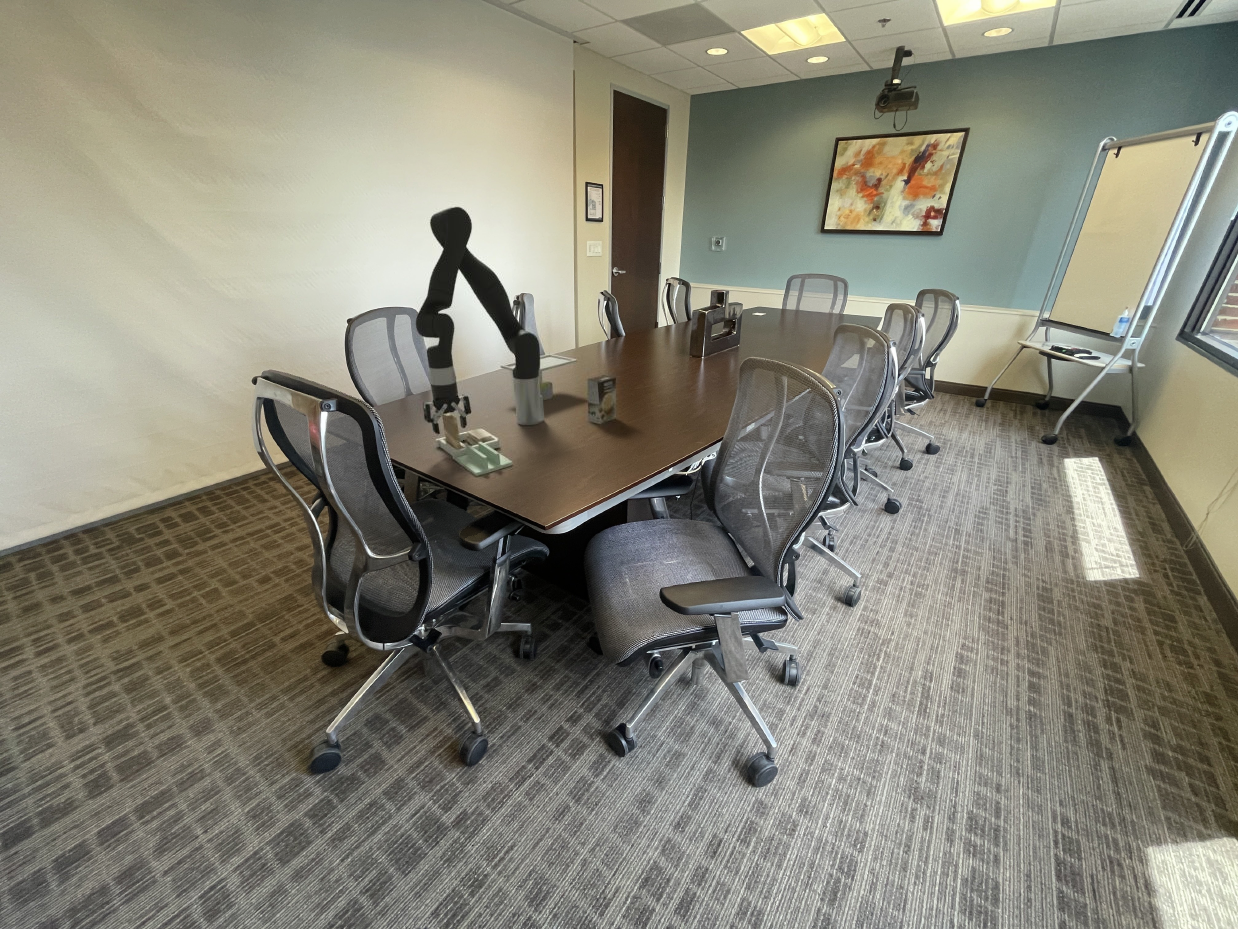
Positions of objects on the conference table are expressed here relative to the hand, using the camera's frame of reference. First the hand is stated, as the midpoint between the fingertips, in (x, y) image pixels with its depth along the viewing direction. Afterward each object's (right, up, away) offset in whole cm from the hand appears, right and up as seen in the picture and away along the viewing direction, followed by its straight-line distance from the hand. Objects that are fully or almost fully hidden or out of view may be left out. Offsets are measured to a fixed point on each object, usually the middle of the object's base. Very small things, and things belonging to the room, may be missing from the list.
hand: (450, 430), depth 158 cm
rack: (+4, -5, +6) cm, 9 cm away
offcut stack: (+7, -4, +8) cm, 12 cm away
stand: (+12, -10, -6) cm, 17 cm away
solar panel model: (+21, +18, +55) cm, 62 cm away
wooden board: (0, -6, +3) cm, 7 cm away
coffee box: (+47, +6, +30) cm, 56 cm away
